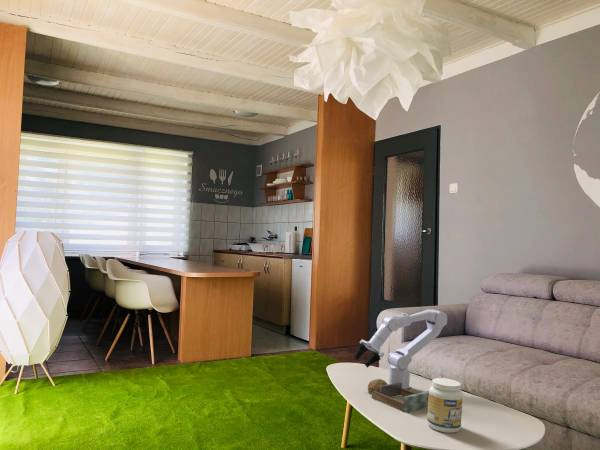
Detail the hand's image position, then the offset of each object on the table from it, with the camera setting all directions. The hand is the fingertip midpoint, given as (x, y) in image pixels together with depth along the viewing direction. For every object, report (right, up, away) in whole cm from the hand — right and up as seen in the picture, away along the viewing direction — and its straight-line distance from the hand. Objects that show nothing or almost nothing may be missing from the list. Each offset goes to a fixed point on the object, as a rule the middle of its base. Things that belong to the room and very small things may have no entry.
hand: (360, 362), depth 222 cm
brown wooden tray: (+15, -13, -14) cm, 25 cm away
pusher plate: (+12, -12, -9) cm, 20 cm away
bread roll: (+8, -13, -4) cm, 15 cm away
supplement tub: (+26, -13, -40) cm, 49 cm away
